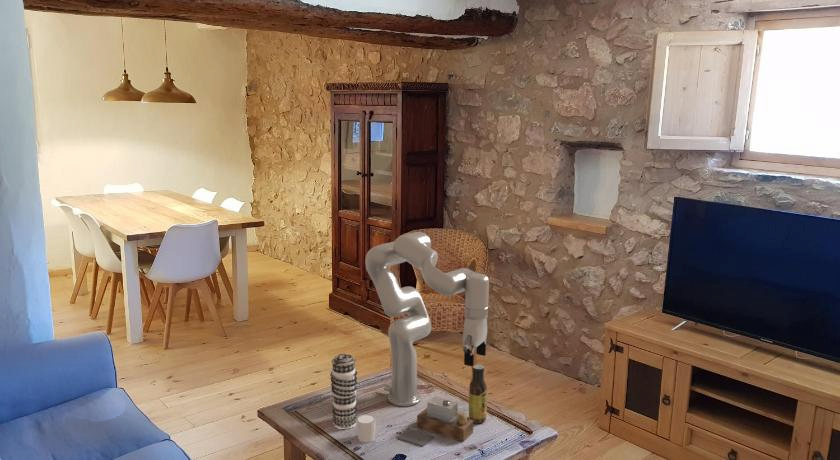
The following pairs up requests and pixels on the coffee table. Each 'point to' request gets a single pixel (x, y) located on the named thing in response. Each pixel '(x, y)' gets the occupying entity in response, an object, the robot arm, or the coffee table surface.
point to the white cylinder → (366, 427)
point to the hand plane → (447, 425)
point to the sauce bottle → (478, 396)
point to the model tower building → (344, 391)
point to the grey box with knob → (442, 409)
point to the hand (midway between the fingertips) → (475, 359)
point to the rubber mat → (415, 437)
